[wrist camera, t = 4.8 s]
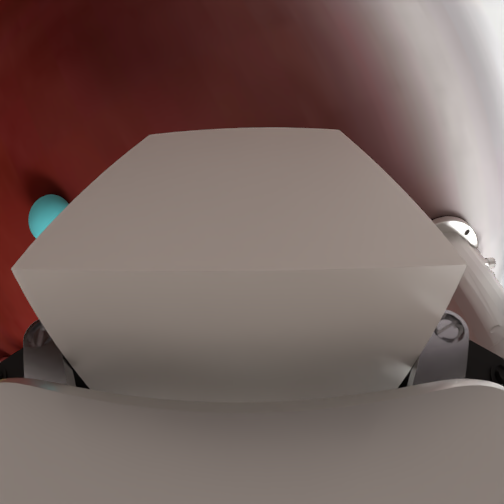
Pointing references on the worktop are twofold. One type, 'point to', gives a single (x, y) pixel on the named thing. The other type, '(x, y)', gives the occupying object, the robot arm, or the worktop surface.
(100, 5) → the worktop surface
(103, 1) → the worktop surface
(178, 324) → the pale grey cube
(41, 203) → the ball
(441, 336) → the robot arm
